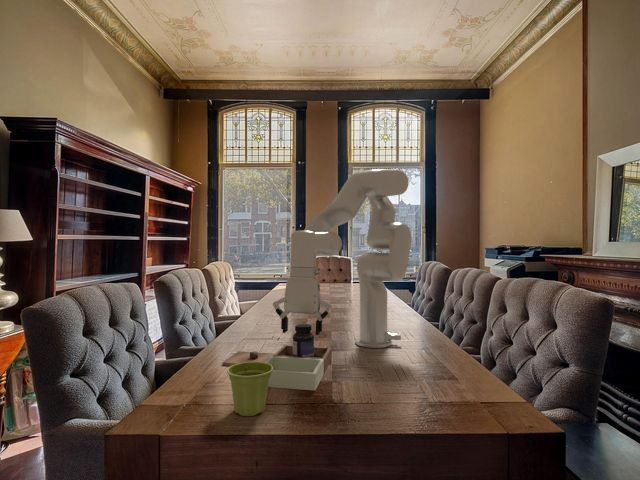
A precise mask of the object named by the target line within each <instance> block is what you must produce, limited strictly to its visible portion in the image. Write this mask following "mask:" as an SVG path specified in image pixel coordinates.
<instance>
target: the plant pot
mask: <svg viewBox="0 0 640 480" xmlns="http://www.w3.org/2000/svg"><path fill="white" fill-rule="evenodd" d="M272 371H273V366H272V365H270V364H268V363H263V362H244V363H239V364H235V365H232V366H228V367H227V368H226V373H227V375H228V376H229V380H230V384H231V391H232V398H233V407H234V412H235V413H236V414H239V416H242V417H253V416H256V415H258V414H260V413H263V412H265V409H266V402H267V396H268V395H267V394H268V389H269V387H268V382H269V378H270V375H271V372H272Z"/></svg>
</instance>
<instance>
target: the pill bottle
mask: <svg viewBox="0 0 640 480" xmlns="http://www.w3.org/2000/svg"><path fill="white" fill-rule="evenodd" d="M294 328H295V329H294V331H295V333H294V334H293V336H292V345H293V356H297V357H314V347H315V336H314V334H313V333H312V332H311V331H312V324H307V323H299V324H296V325H295V326H294Z"/></svg>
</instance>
